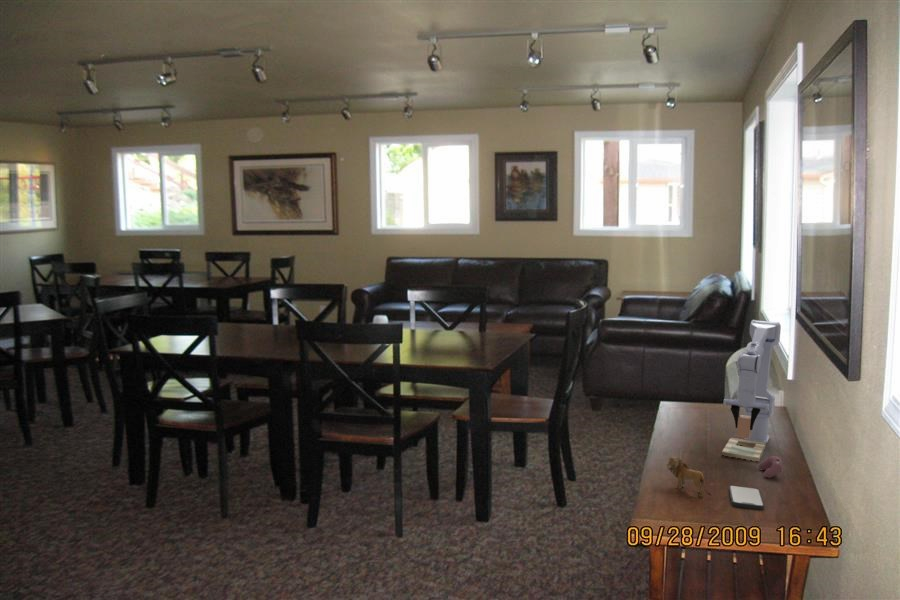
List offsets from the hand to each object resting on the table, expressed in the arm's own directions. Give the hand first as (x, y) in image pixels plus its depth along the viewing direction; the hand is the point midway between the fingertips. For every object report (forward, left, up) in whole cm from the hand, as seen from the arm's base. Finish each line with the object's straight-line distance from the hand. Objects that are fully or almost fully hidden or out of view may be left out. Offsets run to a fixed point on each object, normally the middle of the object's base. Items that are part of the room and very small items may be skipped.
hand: (744, 428), depth 280 cm
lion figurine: (+47, -10, -10) cm, 49 cm away
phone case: (+45, +7, -10) cm, 46 cm away
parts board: (-5, 0, -9) cm, 11 cm away
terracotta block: (0, 0, -3) cm, 3 cm away
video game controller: (+16, +11, -10) cm, 22 cm away
